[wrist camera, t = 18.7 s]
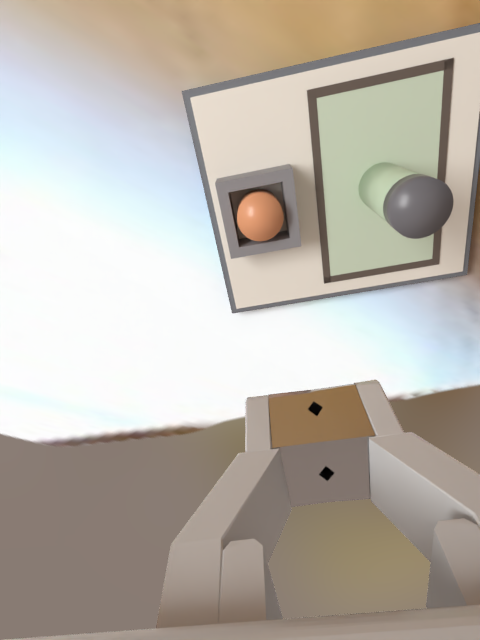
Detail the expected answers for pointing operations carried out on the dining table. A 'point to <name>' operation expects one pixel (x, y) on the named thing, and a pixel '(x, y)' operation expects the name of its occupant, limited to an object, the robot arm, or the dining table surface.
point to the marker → (406, 199)
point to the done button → (259, 215)
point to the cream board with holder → (340, 166)
